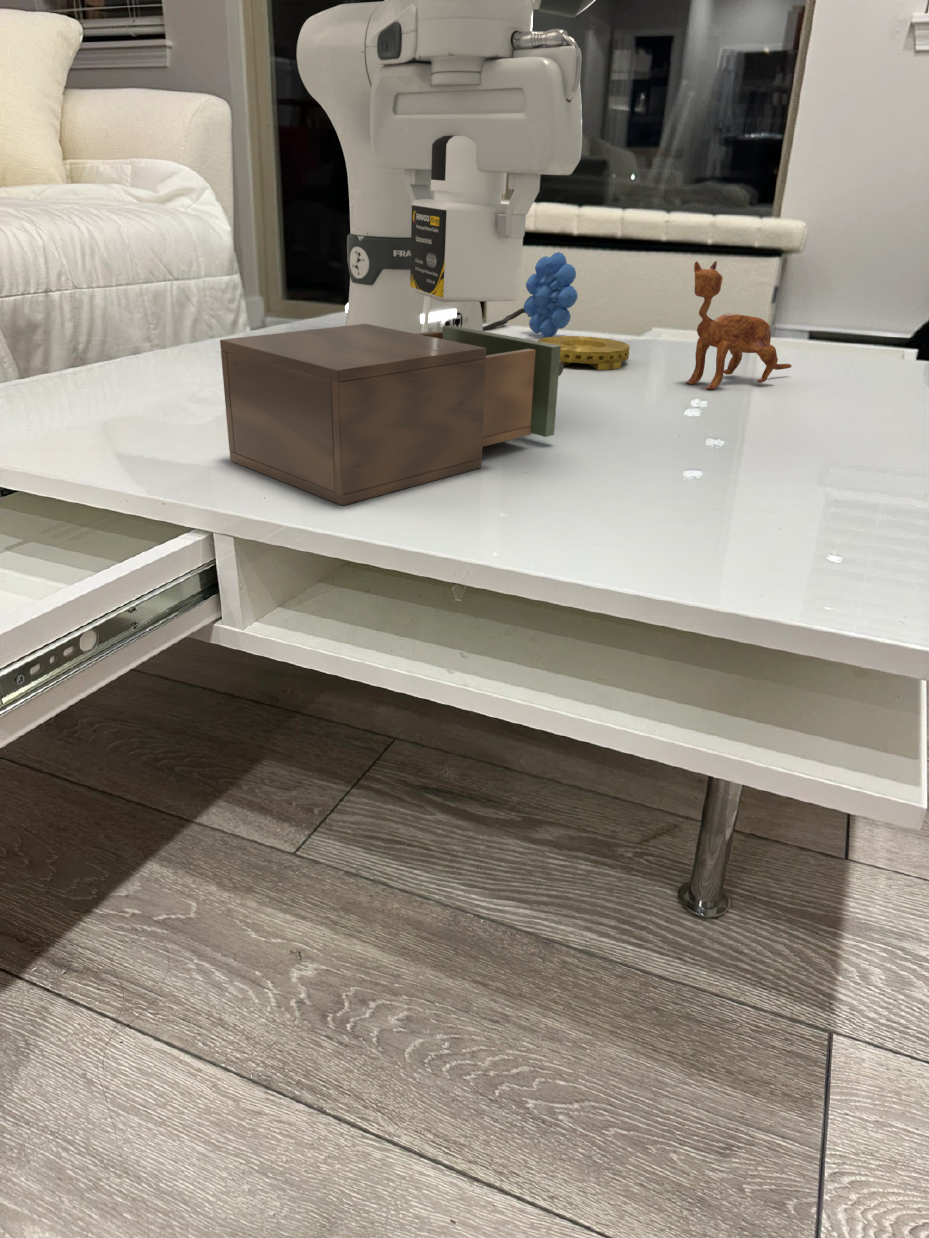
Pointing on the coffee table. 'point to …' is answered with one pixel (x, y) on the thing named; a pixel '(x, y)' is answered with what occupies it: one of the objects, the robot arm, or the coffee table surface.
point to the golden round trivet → (590, 351)
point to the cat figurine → (729, 333)
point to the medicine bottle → (462, 231)
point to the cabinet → (354, 408)
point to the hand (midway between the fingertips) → (466, 234)
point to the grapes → (550, 295)
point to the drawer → (513, 383)
